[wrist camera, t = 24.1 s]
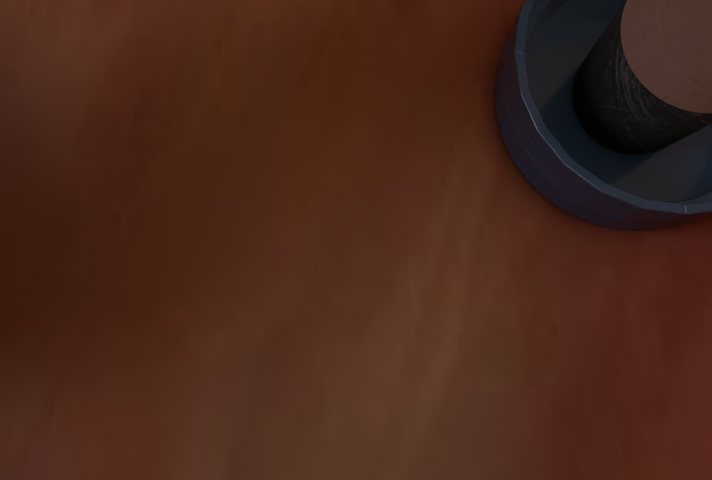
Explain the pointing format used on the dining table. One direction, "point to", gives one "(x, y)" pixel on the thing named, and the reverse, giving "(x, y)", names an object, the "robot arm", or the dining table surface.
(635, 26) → the travel mug
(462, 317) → the dining table surface
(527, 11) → the blue pet bowl
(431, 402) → the dining table surface
